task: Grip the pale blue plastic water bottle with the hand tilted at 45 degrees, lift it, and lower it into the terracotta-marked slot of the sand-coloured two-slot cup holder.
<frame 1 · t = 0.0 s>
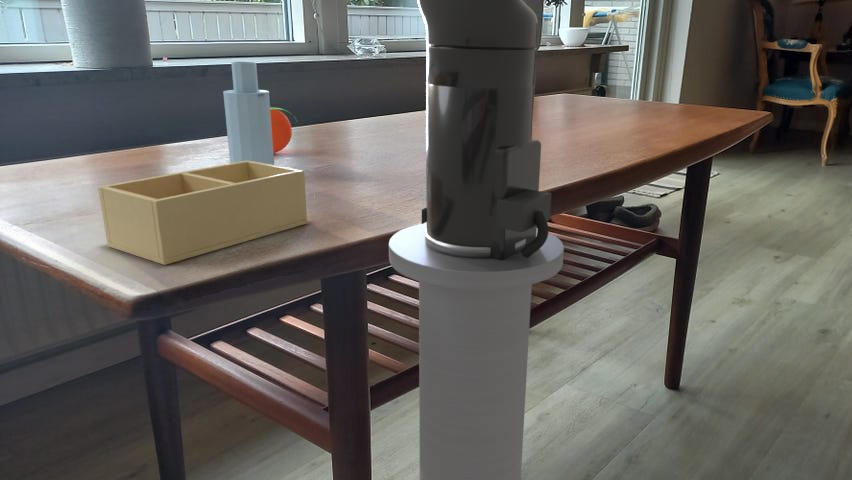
holder: (214, 234, 66), on the table
bottle: (253, 177, 90), on the table
clementine: (273, 153, 107), on the table
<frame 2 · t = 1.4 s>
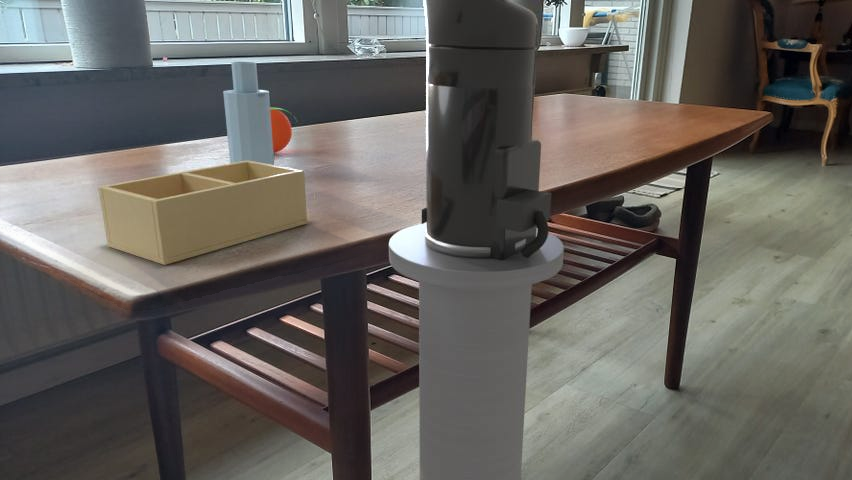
nothing on the table moved.
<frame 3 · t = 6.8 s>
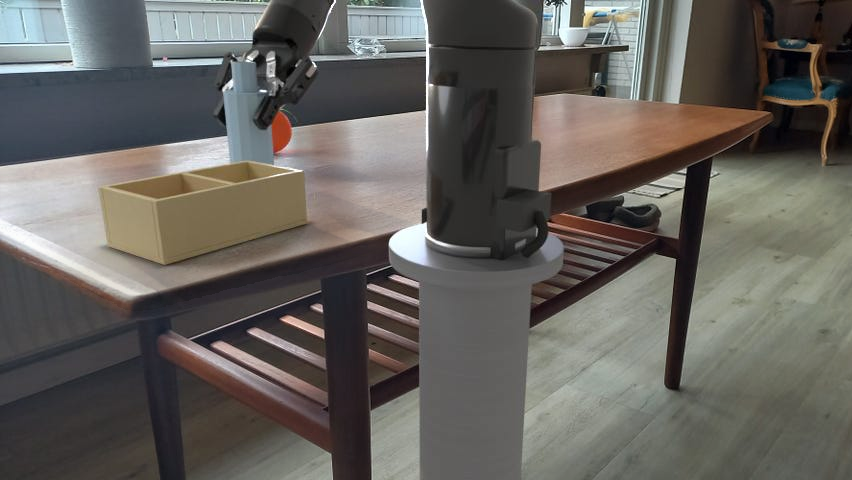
hand: (239, 123, 86), 7 cm above the table, tool tilted 45°, fingers closed on bottle, 5 cm apart
bottle: (253, 177, 90), on the table, touching gripper
everything else where it was.
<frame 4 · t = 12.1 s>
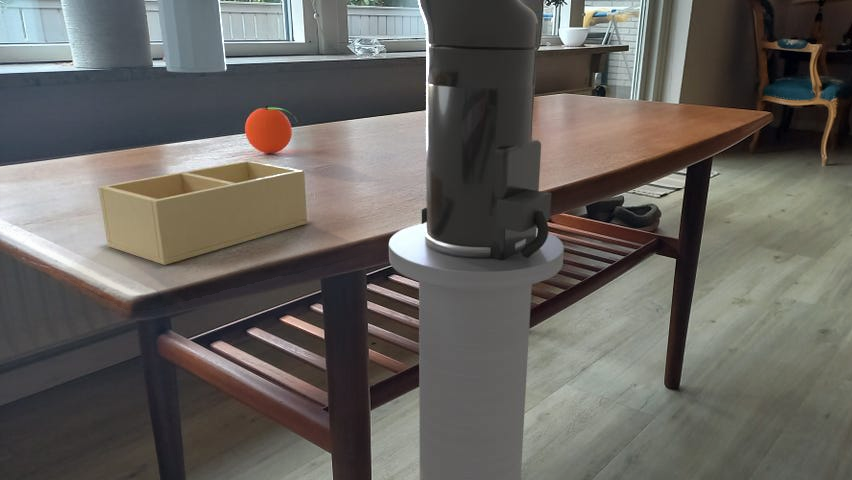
bottle: (196, 70, 67), point 15 cm above the table, touching gripper
everything else where it was.
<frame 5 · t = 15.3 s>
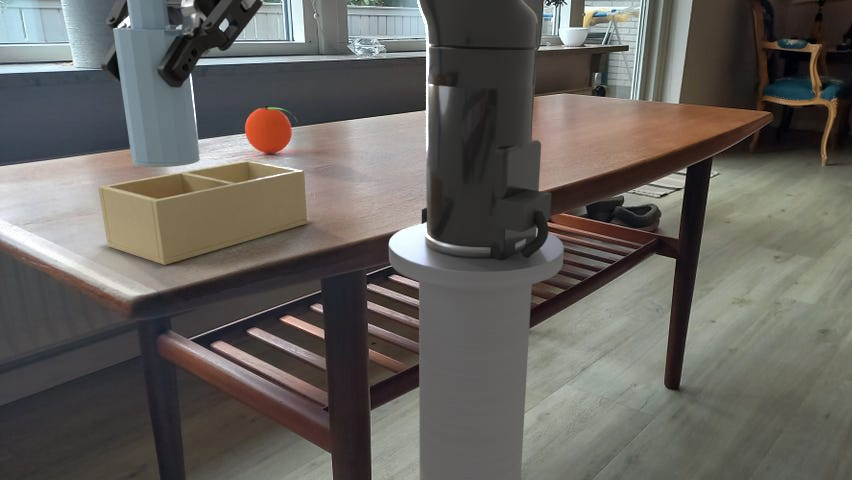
hand: (139, 77, 57), 15 cm above the table, tool tilted 45°, fingers closed on bottle, 5 cm apart
bottle: (167, 160, 61), point 8 cm above the table, touching gripper
everything else where it was.
when the fingers open (8 cm above the table, at t = 17.7 s): bottle stays where it is, resting on holder.
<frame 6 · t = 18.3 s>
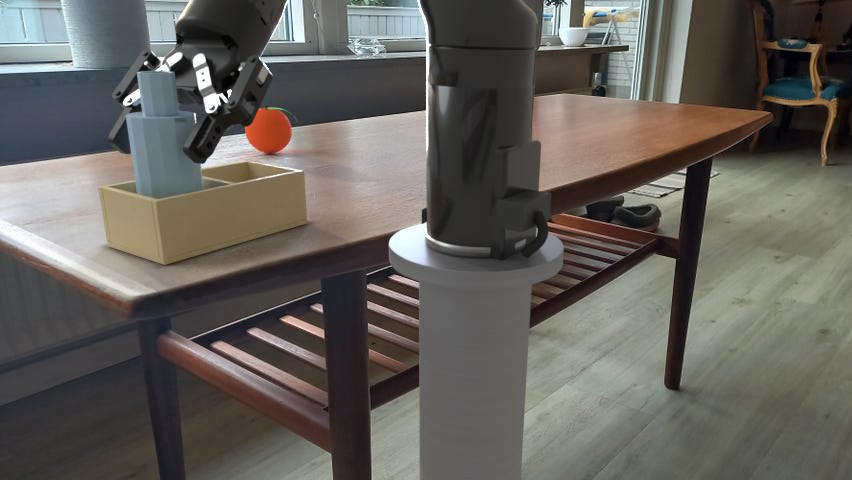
hand: (154, 153, 59), 9 cm above the table, tool tilted 45°, fingers open, 8 cm apart
bottle: (176, 236, 63), point 1 cm above the table, touching holder
everything else where it was.
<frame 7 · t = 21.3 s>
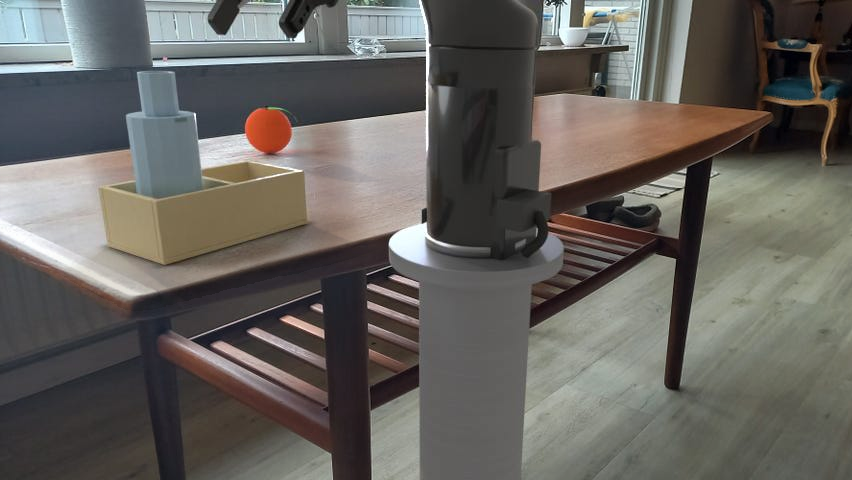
hand: (250, 30, 67), 19 cm above the table, tool tilted 45°, fingers open, 8 cm apart
nothing on the table moved.
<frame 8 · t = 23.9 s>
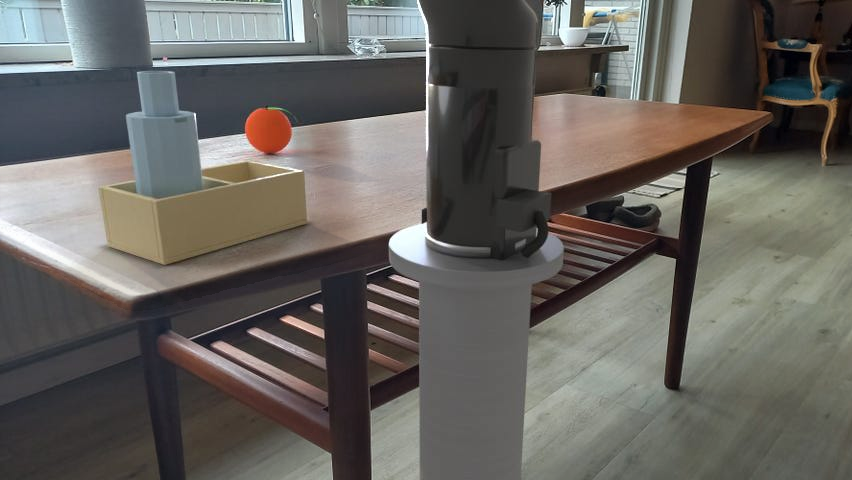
nothing on the table moved.
at the end: bottle 0.2 cm from the target spot in the holder, point 0.7 cm above the holder's base; bottle tilted 0°; the gripper is holding nothing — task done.
